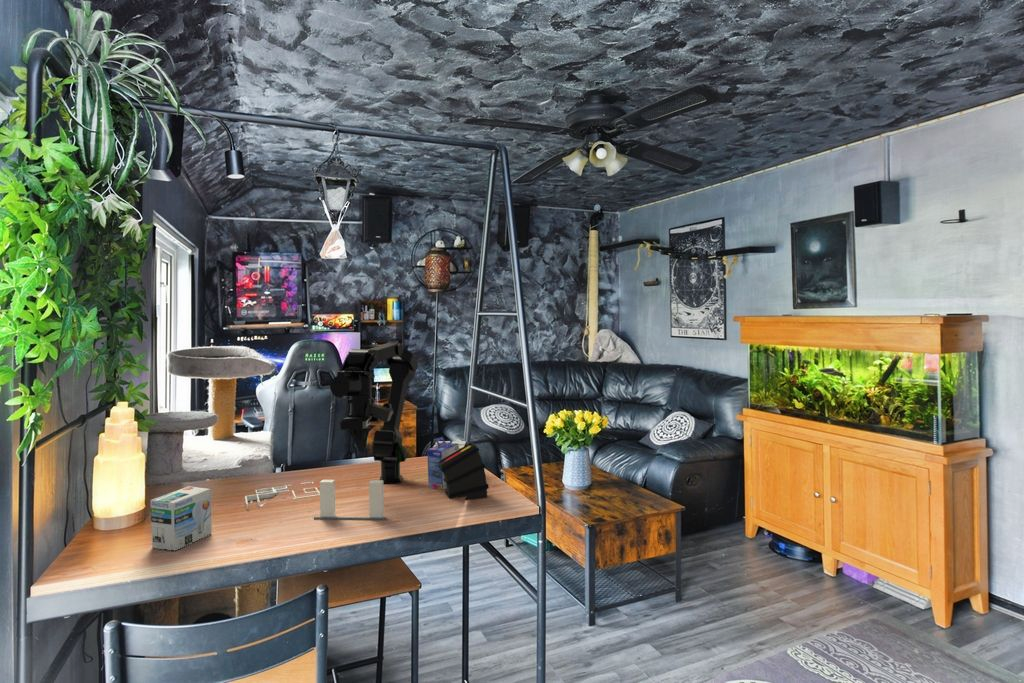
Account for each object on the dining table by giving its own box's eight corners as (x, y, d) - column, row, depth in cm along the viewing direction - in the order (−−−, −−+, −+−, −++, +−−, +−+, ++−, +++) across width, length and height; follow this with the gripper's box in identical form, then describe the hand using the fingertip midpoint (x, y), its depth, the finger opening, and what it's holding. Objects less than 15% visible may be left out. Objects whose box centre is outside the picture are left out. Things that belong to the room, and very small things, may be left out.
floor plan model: (249, 524, 141) (249, 516, 140) (243, 495, 163) (243, 488, 162) (328, 511, 149) (328, 504, 149) (312, 485, 171) (312, 479, 171)
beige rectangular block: (371, 516, 141) (371, 480, 141) (383, 516, 141) (383, 480, 141) (369, 519, 139) (368, 482, 139) (381, 519, 139) (381, 482, 139)
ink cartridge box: (444, 481, 173) (444, 434, 173) (460, 483, 171) (460, 435, 170) (426, 490, 165) (426, 440, 164) (443, 493, 162) (442, 442, 161)
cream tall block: (323, 515, 142) (322, 479, 141) (335, 515, 142) (334, 479, 141) (320, 518, 140) (319, 482, 139) (332, 518, 140) (331, 482, 139)
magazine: (498, 490, 159) (476, 444, 156) (457, 516, 155) (433, 469, 152) (494, 486, 163) (472, 441, 160) (453, 511, 159) (430, 465, 156)
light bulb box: (175, 552, 123) (173, 502, 123) (150, 548, 125) (148, 500, 124) (213, 533, 133) (212, 487, 133) (190, 530, 135) (188, 485, 135)
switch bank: (331, 506, 151) (331, 500, 151) (398, 507, 151) (398, 501, 151) (313, 523, 139) (313, 517, 139) (387, 524, 139) (387, 518, 139)
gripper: (380, 396, 148) (381, 457, 147) (398, 392, 166) (399, 446, 166) (338, 397, 148) (338, 458, 148) (360, 393, 167) (361, 447, 166)
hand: (361, 452), depth 157 cm, fingers closed
